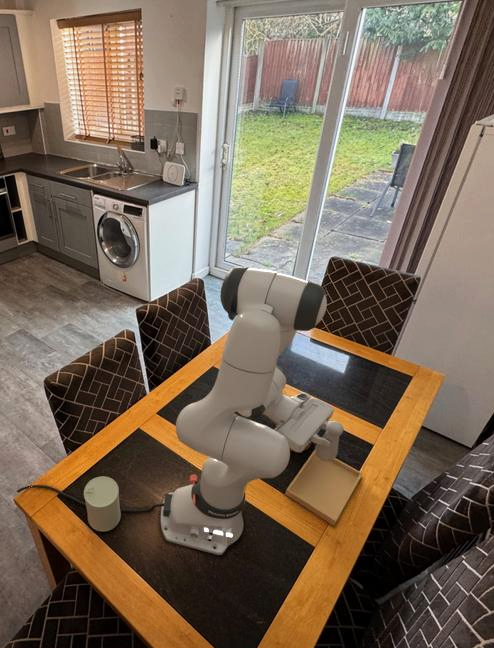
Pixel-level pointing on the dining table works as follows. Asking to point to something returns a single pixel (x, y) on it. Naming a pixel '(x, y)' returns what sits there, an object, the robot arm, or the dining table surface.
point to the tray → (324, 487)
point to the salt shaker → (332, 434)
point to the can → (102, 503)
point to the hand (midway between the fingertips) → (334, 439)
